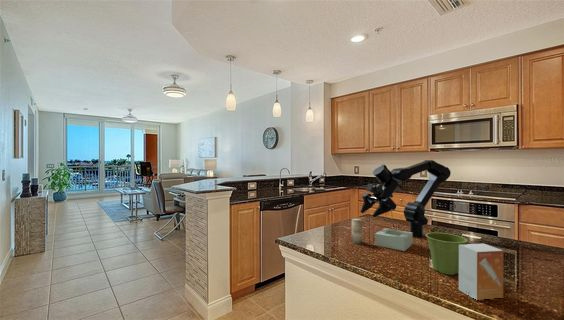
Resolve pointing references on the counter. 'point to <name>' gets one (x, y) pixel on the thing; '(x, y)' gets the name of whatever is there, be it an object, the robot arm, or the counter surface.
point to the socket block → (394, 239)
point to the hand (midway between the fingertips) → (367, 214)
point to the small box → (481, 271)
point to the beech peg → (356, 231)
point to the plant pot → (445, 251)
